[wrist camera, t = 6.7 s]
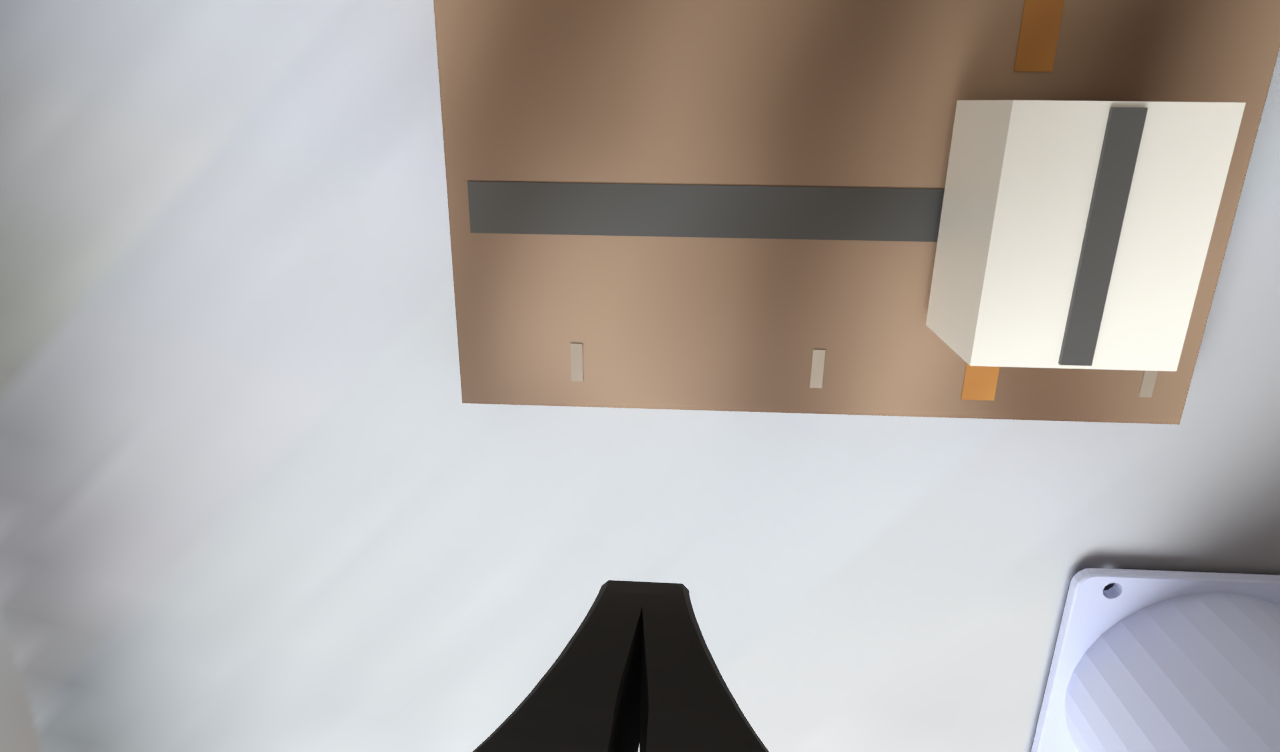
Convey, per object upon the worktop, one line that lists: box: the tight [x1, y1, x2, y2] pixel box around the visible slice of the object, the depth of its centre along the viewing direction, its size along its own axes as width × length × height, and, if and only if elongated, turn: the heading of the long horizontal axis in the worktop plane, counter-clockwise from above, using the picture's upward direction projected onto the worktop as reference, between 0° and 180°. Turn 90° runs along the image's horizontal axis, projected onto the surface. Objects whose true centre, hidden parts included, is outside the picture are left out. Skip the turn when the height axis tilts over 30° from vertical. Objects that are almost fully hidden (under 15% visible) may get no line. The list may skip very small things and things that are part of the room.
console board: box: [434, 0, 1280, 424], centre depth 19 cm, size 18×10×2 cm, turn 89°
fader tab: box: [926, 100, 1246, 371], centre depth 16 cm, size 4×5×3 cm
